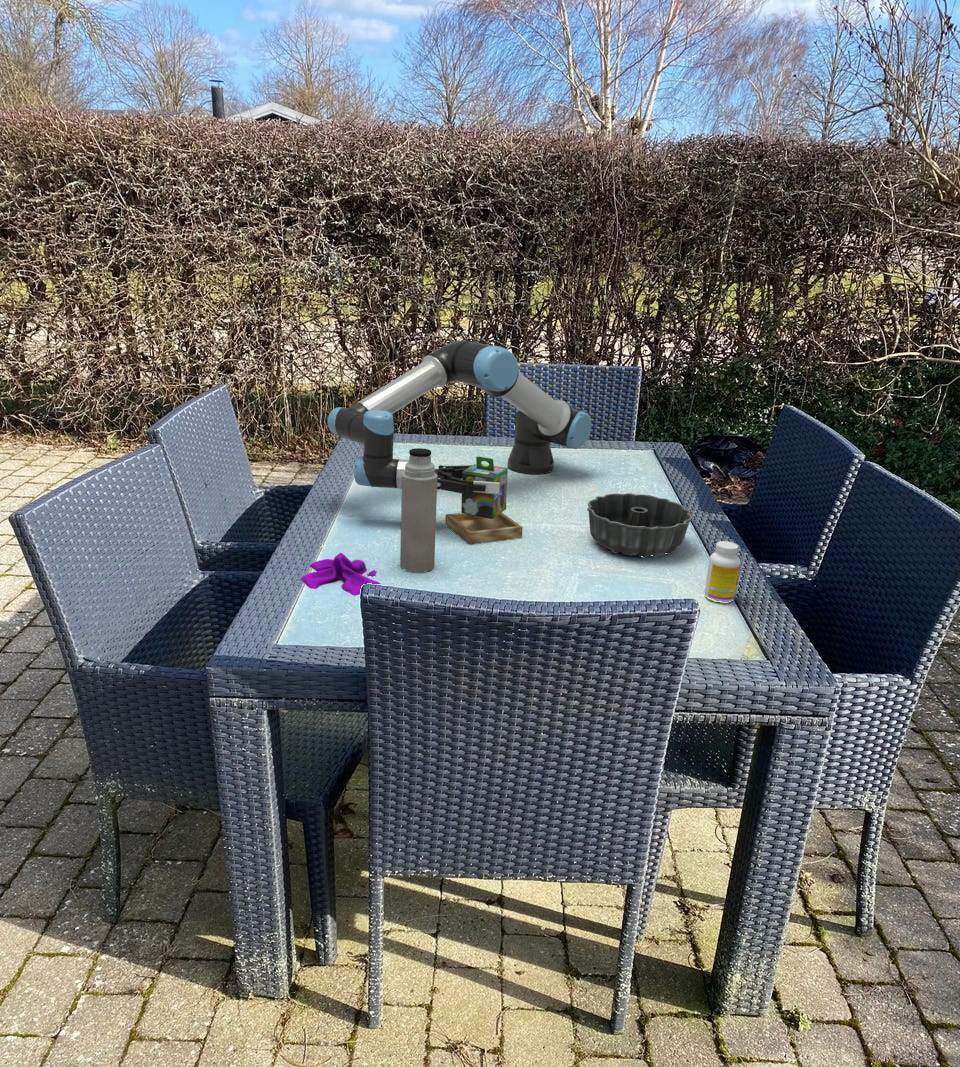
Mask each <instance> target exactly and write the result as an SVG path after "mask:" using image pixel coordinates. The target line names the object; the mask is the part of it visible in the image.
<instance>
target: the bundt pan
mask: <svg viewBox="0 0 960 1067" xmlns="http://www.w3.org/2000/svg"><path fill="white" fill-rule="evenodd" d="M587 506H588V507H587V508H586V510H587V511H588V521H589V532H590V535H591V537H592V539H593V540H594V541H595V542H597V543H598V544H599V545H600V546H602V547H603V548H604V547H605V548H604V549H607V548H610V549H609V550H611V552H612V553H614V552H620V553H622V554H623V555H625V554H626V555H625V556H627V555H634V556H637V555H638V556H639V555H640V556H639V557H641V556H643V557H645V558H646V557H648V556H650V555H653V556H652V557H654V556H657V557H661V556H663V555H664V554H665V553H670V554H672V553H674V552H675V551H676V550H677V549H678V548H679V547H680V546H681V545H682V544H683V542H684V539H685V537H686V535H687V531H688V527H689V524H690V522H692V521H693V515H692V511H691V510H689V509H687V508H686V506H685V505H683V504H682V503H678V502H675V501H671V500H670V499H668V498H665V497H664V498H663V497H658V496H655V495H650V494H643V493H642V494H641V493H640V494H638V493H631V492H627V493H608V494H605V495H601V496H599V495H598V496H596V497H595V498H593V499H591V500H589V501H588V502H587ZM665 555H666V554H665Z"/></svg>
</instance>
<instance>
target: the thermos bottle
mask: <svg viewBox="0 0 960 1067" xmlns="http://www.w3.org/2000/svg"><path fill="white" fill-rule="evenodd" d="M408 453H409V458H408V460H409V462H408V463H406V464H405V472H403V473H402V489H401V497H400V498H401V501H400V502H401V503H400V504H401V507H400V508H401V509H400V549H399V550H400V552H399V553H400V554H399V555H400V557H399V566H400V568H401V569H402V568H403V569H405V570H407V571H406V572H408V571H411V572H410V573H414V572H422V573H426V572H425V571H428V572H430V571H432V570H434V568H435V562H436V561H435V557H436V531H437V530H436V529H437V526H436V525H437V495H438V489H437V474H436V473H434V470H435V469H436V467H435V464H434V463H432V457H431V456H432V451H431V449H428V448H423V447H422V448H419V447H417V448H416V447H415V448H411V449H409V452H408ZM403 569H402V570H403ZM405 570H404V571H405ZM429 570H430V571H429Z"/></svg>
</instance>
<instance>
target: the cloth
mask: <svg viewBox="0 0 960 1067" xmlns="http://www.w3.org/2000/svg"><path fill="white" fill-rule="evenodd" d="M309 565H310V568H311V569H313V570H315V571H312V572H308V573H306V574H305V575H303V576H302V577H301V580H302V581H303V583H304V584H305V585H306V587H308V588H309V589H312V590H317V589H318V588H320V587H321V586H324V585H328V584H332V583H333V584H334V583H337V582H342V584H341V587H342V589H344V590H345V592H347V593H349V594H350V595H352V596H359V595H361V594H360V589H361V586H362V585H363V584H367V583H372V584H382V583H381V582H379V581H377V580H374V579H371V578H372V577H373V576H375V577H376V576H377V574H378V571H377V570H375V569H373V570H371V571H369V572H368V573H367V571H368V568H367V567H366V564H365V561H363V560H362V559H355V560H352V561H351V560H350V559H349V558H348V557H347V556H346V555H345V554H344V553H343V552H339V553H338V554H336V555H335V556H334V558H333V559H331V558H326V559H321V560H318V561H313V562H311V564H309ZM365 573H367V576H365V575H364V574H365ZM376 573H377V574H376ZM369 576H371V578H370V577H369ZM373 578H374V577H373ZM344 590H343V591H344Z"/></svg>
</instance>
